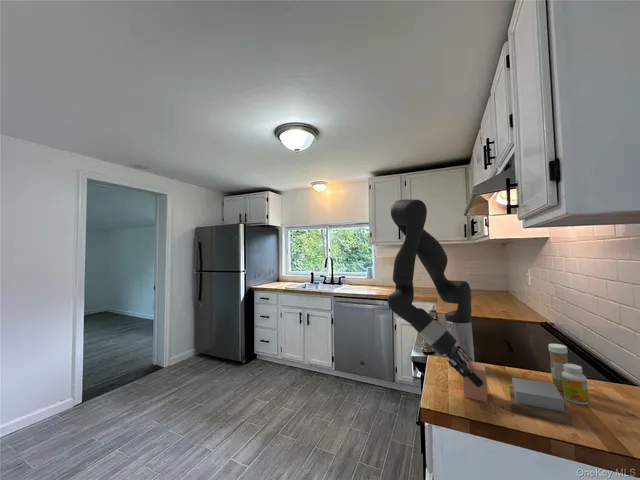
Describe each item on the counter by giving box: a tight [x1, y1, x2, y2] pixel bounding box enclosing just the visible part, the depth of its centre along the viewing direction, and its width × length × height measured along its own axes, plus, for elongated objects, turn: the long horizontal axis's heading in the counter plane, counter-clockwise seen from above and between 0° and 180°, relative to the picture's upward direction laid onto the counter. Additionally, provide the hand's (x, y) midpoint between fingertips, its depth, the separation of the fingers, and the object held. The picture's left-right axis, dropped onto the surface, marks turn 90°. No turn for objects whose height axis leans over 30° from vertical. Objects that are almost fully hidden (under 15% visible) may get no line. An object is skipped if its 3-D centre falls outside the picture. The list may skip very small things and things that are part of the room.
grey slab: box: [511, 377, 565, 412], centre depth 76 cm, size 10×10×3 cm
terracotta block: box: [462, 361, 489, 403], centre depth 84 cm, size 6×6×9 cm
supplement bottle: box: [562, 363, 590, 406], centre depth 79 cm, size 5×5×10 cm
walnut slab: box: [509, 385, 572, 426], centre depth 76 cm, size 12×12×3 cm
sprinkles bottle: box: [547, 343, 569, 392], centre depth 86 cm, size 5×5×13 cm
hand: (481, 380), depth 83 cm, fingers closed on terracotta block, 6 cm apart
